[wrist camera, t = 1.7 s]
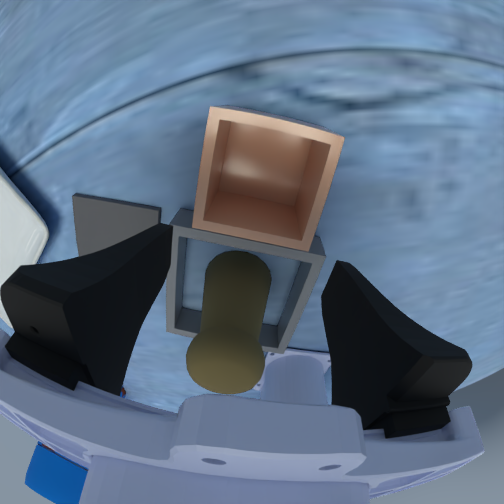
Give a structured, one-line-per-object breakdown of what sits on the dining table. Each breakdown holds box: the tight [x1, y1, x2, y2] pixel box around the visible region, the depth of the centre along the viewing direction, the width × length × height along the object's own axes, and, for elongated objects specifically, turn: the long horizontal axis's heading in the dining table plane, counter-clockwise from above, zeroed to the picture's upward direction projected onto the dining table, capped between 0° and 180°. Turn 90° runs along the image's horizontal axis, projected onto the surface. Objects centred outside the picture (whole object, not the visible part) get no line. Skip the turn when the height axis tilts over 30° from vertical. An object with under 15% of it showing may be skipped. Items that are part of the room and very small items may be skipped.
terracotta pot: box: [192, 105, 345, 252], centre depth 17 cm, size 7×7×6 cm
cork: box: [186, 251, 272, 394], centre depth 20 cm, size 6×6×11 cm
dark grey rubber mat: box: [72, 194, 161, 256], centre depth 24 cm, size 9×9×1 cm
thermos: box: [25, 386, 126, 504], centre depth 28 cm, size 11×11×25 cm
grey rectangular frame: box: [166, 209, 326, 354], centre depth 24 cm, size 12×12×3 cm
